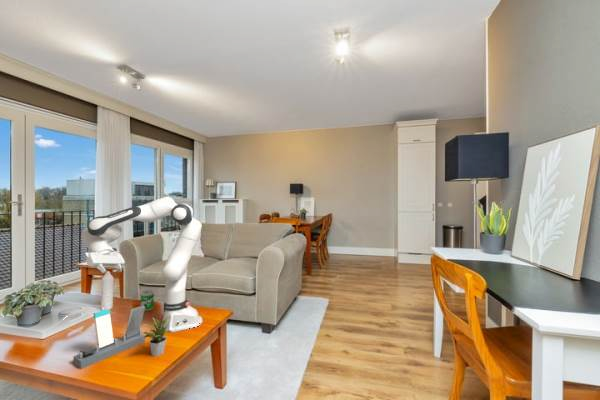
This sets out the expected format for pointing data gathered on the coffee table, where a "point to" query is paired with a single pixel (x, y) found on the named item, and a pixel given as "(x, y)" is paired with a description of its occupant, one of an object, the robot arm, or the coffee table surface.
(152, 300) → the soda can
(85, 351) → the black rocker
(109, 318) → the white paddle
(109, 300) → the water bottle
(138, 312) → the grey upright panel
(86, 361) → the grey holder rack
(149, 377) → the coffee table surface
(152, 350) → the house plant
